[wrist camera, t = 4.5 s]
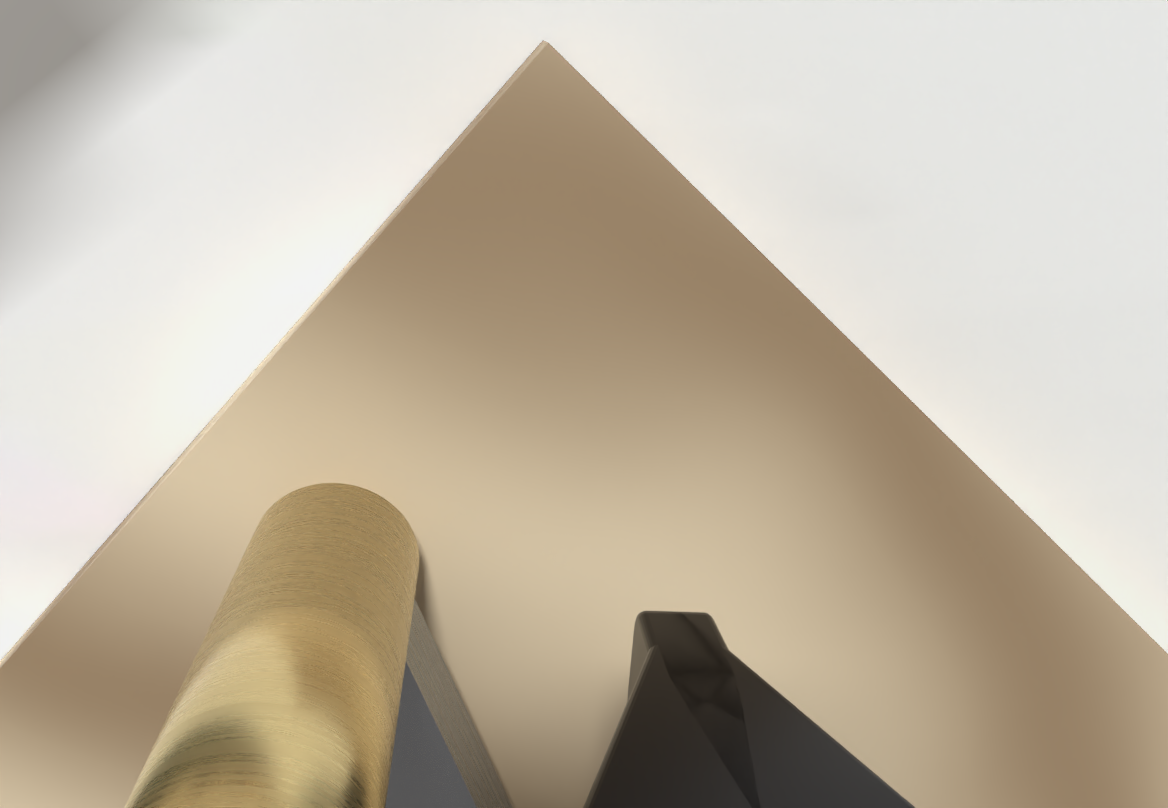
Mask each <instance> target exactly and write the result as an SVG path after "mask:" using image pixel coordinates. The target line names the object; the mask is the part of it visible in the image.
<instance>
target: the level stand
mask: <svg viewBox="0 0 1168 808" xmlns="http://www.w3.org/2000/svg"><path fill="white" fill-rule="evenodd" d="M321 483H343V484H349V485H354V486H358V487H361V488H364V489H367V490H370V491H372V492H374V493H376V494H378V495H380V496H381V497H383V498H385V499H386V500H388V501H389V502H390V503H391V504H393V505H394V506H395V507H396V508H397V509H398V510H399V511H400V512H401V513H402V514H403V516H404V517H405V518H406V520H407V521H408V522H409V524H410V526H411V528H412V530H413V532H414V534H415V537H416V540H417V544H418V548H419V570H418V577H417V584H416V591H415V600H416V602H417V604H418V606H419V609H420V611H421V613H422V615H423V617H424V619H425V621H426V624H427V626H428V628H429V630H430V632H431V634H432V636H433V639H434V641H435V643H436V645H437V647H438V649H439V651H440V653H441V656H442V658H443V660H444V662H445V664H446V666H447V668H448V671H449V673H450V675H451V677H452V679H453V681H454V683H455V685H456V688H457V690H458V692H459V694H460V696H461V698H462V700H463V703H464V705H465V707H466V709H467V711H468V713H469V715H470V718H471V720H472V722H473V724H474V726H475V728H476V730H477V732H478V735H479V737H480V739H481V741H482V743H483V745H484V747H485V750H486V752H487V754H488V756H489V758H490V760H491V762H492V764H493V767H494V769H495V771H496V773H497V775H498V777H499V779H500V782H501V784H502V786H503V788H504V790H505V792H506V794H507V797H508V799H509V801H510V803H511V805H512V807H513V808H583V807H584V804H585V802H586V800H587V797H588V795H589V792H590V790H591V788H592V785H593V783H594V780H595V778H596V776H597V773H598V771H599V768H600V766H601V764H602V761H603V759H604V756H605V754H606V752H607V749H608V747H609V744H610V742H611V740H612V737H613V735H614V732H615V730H616V728H617V725H618V723H619V720H620V718H621V716H622V713H623V711H624V708H625V706H626V704H627V700H628V686H629V676H630V665H631V655H632V644H633V634H634V626H635V620H636V617H637V615H638V614H639V613H640V612H642V611H678V612H705V613H708V614H709V615H711V616H712V618H713V619H714V621H715V623H716V625H717V627H718V629H719V631H720V633H721V635H722V637H723V639H724V641H725V643H726V645H727V647H728V649H729V651H731V652H732V653H733V654H734V655H735V656H736V657H738V658H739V659H740V660H741V661H742V662H744V663H745V664H746V665H747V666H748V667H750V668H751V669H752V670H753V671H754V672H755V673H757V674H758V675H759V676H760V677H761V678H763V679H764V680H765V681H766V682H767V683H768V684H770V685H771V686H772V687H773V688H774V689H776V690H777V691H778V692H779V693H780V694H782V695H783V696H784V697H785V698H786V699H787V700H789V701H790V702H791V703H792V704H793V705H795V706H796V707H797V708H798V709H799V710H800V711H802V712H803V713H804V714H805V715H806V716H808V717H809V718H810V719H811V720H812V721H814V722H815V723H816V724H817V725H818V726H819V727H821V728H822V729H823V730H824V731H825V732H827V733H828V734H829V735H830V736H831V737H832V738H834V739H835V740H836V741H837V742H838V743H840V744H841V745H842V746H843V747H844V748H846V749H847V750H848V751H849V752H850V753H851V754H853V755H854V756H855V757H856V758H857V759H859V760H860V761H861V762H862V763H863V764H864V765H866V766H867V767H868V768H869V769H870V770H872V771H873V772H874V773H875V774H876V775H878V776H879V777H880V778H881V779H882V780H883V781H885V782H886V783H887V784H888V785H889V786H891V787H892V788H893V789H894V790H895V791H896V792H898V793H899V794H900V795H901V796H902V797H904V798H905V799H906V800H907V801H908V802H910V803H911V804H912V805H913V806H914V807H915V808H1168V654H1167V653H1166V652H1165V651H1164V650H1163V649H1162V648H1161V647H1160V646H1159V645H1158V644H1157V643H1156V642H1155V641H1154V640H1153V639H1152V638H1151V637H1150V636H1149V635H1148V634H1147V633H1146V632H1145V631H1144V630H1143V629H1142V628H1141V627H1140V626H1139V625H1138V624H1137V623H1136V622H1135V621H1134V620H1133V619H1132V618H1131V617H1130V616H1129V615H1128V614H1127V613H1126V612H1125V611H1124V610H1123V609H1122V608H1121V607H1120V606H1119V605H1118V604H1117V603H1116V602H1115V601H1114V600H1113V599H1112V598H1111V597H1110V596H1109V595H1108V594H1107V593H1106V592H1104V591H1103V590H1102V589H1101V588H1100V587H1099V586H1098V585H1097V584H1096V583H1095V582H1094V581H1093V580H1092V579H1091V578H1090V577H1089V576H1088V575H1087V574H1086V573H1085V572H1084V571H1083V570H1082V569H1081V568H1080V567H1079V566H1078V565H1077V564H1076V563H1075V562H1074V561H1073V560H1072V559H1071V558H1070V557H1069V556H1068V555H1067V554H1066V553H1065V552H1064V551H1063V550H1062V549H1061V548H1060V547H1059V546H1058V545H1057V544H1056V543H1055V542H1054V541H1053V540H1052V539H1051V538H1050V537H1049V536H1048V535H1047V534H1046V533H1045V532H1044V531H1043V530H1042V529H1041V528H1040V527H1039V526H1038V525H1037V524H1036V523H1035V522H1034V521H1033V520H1032V519H1031V518H1029V517H1028V516H1027V515H1026V514H1025V513H1024V512H1023V511H1022V510H1021V509H1020V508H1019V507H1018V506H1017V505H1016V504H1015V503H1014V502H1013V501H1012V500H1011V499H1010V498H1009V497H1008V496H1007V495H1006V494H1005V493H1004V492H1003V491H1002V490H1001V489H1000V488H999V487H998V486H997V485H996V484H995V483H994V482H993V481H992V480H991V479H990V478H989V477H988V476H987V475H986V474H985V473H984V472H983V471H982V470H981V469H980V468H979V467H978V466H977V465H976V464H975V463H974V462H973V461H972V460H971V459H970V458H969V457H968V456H967V455H966V454H965V453H964V452H963V451H962V450H961V449H960V448H959V447H958V446H957V445H956V444H955V443H953V442H952V441H951V440H950V439H949V438H948V437H947V436H946V435H945V434H944V433H943V432H942V431H941V430H940V429H939V428H938V427H937V426H936V425H935V424H934V423H933V422H932V421H931V420H930V419H929V418H928V417H927V416H926V415H925V414H924V413H923V412H922V411H921V410H920V409H919V408H918V407H917V406H916V405H915V404H914V403H913V402H912V401H911V400H910V399H909V398H908V397H907V396H906V395H905V394H904V393H903V392H902V391H901V390H900V389H899V388H898V387H897V386H896V385H895V384H894V383H893V382H892V381H891V380H890V379H889V378H888V377H887V376H886V375H885V374H884V373H883V372H882V371H881V370H880V369H878V368H877V367H876V366H875V365H874V364H873V363H872V362H871V361H870V360H869V359H868V358H867V357H866V356H865V355H864V354H863V353H862V352H861V351H860V350H859V349H858V348H857V347H856V346H855V345H854V344H853V343H852V342H851V341H850V340H849V339H848V338H847V337H846V336H845V335H844V334H843V333H842V332H841V331H840V330H839V329H838V328H837V327H836V326H835V325H834V324H833V323H832V322H831V321H830V320H829V319H828V318H827V317H826V316H825V315H824V314H823V313H822V312H821V311H820V310H819V309H818V308H817V307H816V306H815V305H814V304H813V303H812V302H811V301H810V300H809V299H808V298H807V297H806V296H805V295H804V294H802V293H801V292H800V291H799V290H798V289H797V288H796V287H795V286H794V285H793V284H792V283H791V282H790V281H789V280H788V279H787V278H786V277H785V276H784V275H783V274H782V273H781V272H780V271H779V270H778V269H777V268H776V267H775V266H774V265H773V264H772V263H771V262H770V261H769V260H768V259H767V258H766V257H765V256H764V255H763V254H762V253H761V252H760V251H759V250H758V249H757V248H756V247H755V246H754V245H753V244H752V243H751V242H750V241H749V240H748V239H747V238H746V237H745V236H744V235H743V234H742V233H741V232H740V231H739V230H738V229H737V228H736V227H735V226H734V225H733V224H732V223H731V222H730V221H729V220H727V219H726V218H725V217H724V216H723V215H722V214H721V213H720V212H719V211H718V210H717V209H716V208H715V207H714V206H713V205H712V204H711V203H710V202H709V201H708V200H707V199H706V198H705V197H704V196H703V195H702V194H701V193H700V192H699V191H698V190H697V189H696V188H695V187H694V186H693V185H692V184H691V183H690V182H689V181H688V180H687V179H686V178H685V177H684V176H683V175H682V174H681V173H680V172H679V171H678V170H677V169H676V168H675V167H674V166H673V165H672V164H671V163H670V162H669V161H668V160H667V159H666V158H665V157H664V156H663V155H662V154H661V153H660V152H659V151H658V150H657V149H656V148H655V147H654V146H653V145H651V144H650V143H649V142H648V141H647V140H646V139H645V138H644V137H643V136H642V135H641V134H640V133H639V132H638V131H637V130H636V129H635V128H634V127H633V126H632V125H631V124H630V123H629V122H628V121H627V120H626V119H625V118H624V117H623V116H622V115H621V114H620V113H619V112H618V111H617V110H616V109H615V108H614V107H613V106H612V105H611V104H610V103H609V102H608V101H607V100H606V99H605V98H604V97H603V96H602V95H601V94H600V93H599V92H598V91H597V90H596V89H595V88H594V87H593V86H592V85H591V84H590V83H589V82H588V81H587V80H586V79H585V78H584V77H583V76H582V75H581V74H580V73H579V72H578V71H576V70H575V69H574V68H573V67H572V66H571V65H570V64H569V63H568V62H567V61H566V60H565V59H564V58H563V57H562V56H561V55H560V54H559V53H558V52H557V51H556V50H555V49H554V48H553V47H552V46H551V45H550V44H549V43H548V42H545V41H542V42H541V43H540V44H539V46H538V47H537V48H536V49H535V50H534V51H533V52H532V54H531V55H530V56H529V57H528V58H527V59H526V60H525V62H524V63H523V64H522V65H521V66H520V67H519V68H518V70H517V71H516V72H515V73H514V74H513V75H512V77H511V78H510V79H509V80H508V81H507V82H506V83H505V85H504V86H503V87H502V88H501V89H500V90H499V91H498V93H497V94H496V95H495V96H494V97H493V98H492V99H491V101H490V102H489V103H488V104H487V105H486V106H485V107H484V109H483V110H482V111H481V112H480V113H479V114H478V115H477V117H476V118H475V119H474V120H473V121H472V122H471V123H470V125H469V126H468V127H467V128H466V129H465V130H464V131H463V133H462V134H461V135H460V136H459V137H458V138H457V139H456V141H455V142H454V143H453V144H452V145H451V146H450V147H449V149H448V150H447V151H446V152H445V153H444V154H443V155H442V157H441V158H440V159H439V160H438V161H437V162H436V163H435V165H434V166H433V167H432V168H431V169H430V170H429V171H428V173H427V174H426V175H425V176H424V177H423V178H422V179H421V181H420V182H419V183H418V184H417V185H416V186H415V187H414V189H413V190H412V191H411V192H410V193H409V194H408V195H407V197H406V198H405V199H404V200H403V201H402V202H401V204H400V205H399V206H398V207H397V208H396V209H395V210H394V212H393V213H392V214H391V215H390V216H389V217H388V218H387V220H386V221H385V222H384V223H383V224H382V225H381V226H380V228H379V229H378V230H377V231H376V232H375V233H374V234H373V236H372V237H371V238H370V239H369V240H368V241H367V242H366V244H365V245H364V246H363V247H362V248H361V249H360V250H359V252H358V253H357V254H356V255H355V256H354V257H353V258H352V260H351V261H350V262H349V263H348V264H347V265H346V266H345V268H344V269H343V270H342V271H341V272H340V273H339V274H338V276H337V277H336V278H335V279H334V280H333V281H332V282H331V284H330V285H329V286H328V287H327V288H326V289H325V290H324V292H323V293H322V294H321V295H320V296H319V297H318V298H317V300H316V301H315V302H314V303H313V304H312V305H311V306H310V308H309V309H308V310H307V311H306V312H305V313H304V314H303V316H302V317H301V318H300V319H299V320H298V321H297V322H296V324H295V325H294V326H293V327H292V328H291V329H290V331H289V332H288V333H287V334H286V335H285V336H284V337H283V339H282V340H281V341H280V342H279V343H278V344H277V345H276V347H275V348H274V349H273V350H272V351H271V352H270V353H269V355H268V356H267V357H266V358H265V359H264V360H263V361H262V363H261V364H260V365H259V366H258V367H257V368H256V369H255V371H254V372H253V373H252V374H251V375H250V376H249V377H248V379H247V380H246V381H245V382H244V383H243V384H242V385H241V387H240V388H239V389H238V390H237V391H236V392H235V393H234V395H233V396H232V397H231V398H230V399H229V400H228V401H227V403H226V404H225V405H224V406H223V407H222V408H221V409H220V411H219V412H218V413H217V414H216V415H215V416H214V417H213V419H212V420H211V421H210V422H209V423H208V424H207V425H206V427H205V428H204V429H203V430H202V431H201V432H200V433H199V435H198V436H197V437H196V438H195V439H194V440H193V441H192V443H191V444H190V445H189V446H188V447H187V448H186V449H185V451H184V452H183V453H182V454H181V455H180V456H179V458H178V459H177V460H176V461H175V462H174V463H173V464H172V466H171V467H170V468H169V469H168V470H167V471H166V472H165V474H164V475H163V476H162V477H161V478H160V479H159V480H158V482H157V483H156V484H155V485H154V486H153V487H152V488H151V490H150V491H149V492H148V493H147V494H146V495H145V496H144V498H143V499H142V500H141V501H140V502H139V503H138V504H137V506H136V507H135V508H134V509H133V510H132V511H131V512H130V514H129V515H128V516H127V517H126V518H125V519H124V520H123V522H122V523H121V524H120V525H119V526H118V527H117V528H116V530H115V531H114V532H113V533H112V534H111V535H110V536H109V538H108V539H107V540H106V541H105V542H104V543H103V544H102V546H101V547H100V548H99V549H98V550H97V551H96V552H95V554H94V555H93V556H92V557H91V558H90V559H89V560H88V562H87V563H86V564H85V565H84V566H83V567H82V568H81V570H80V571H79V572H78V573H77V574H76V575H75V576H74V578H73V579H72V580H71V581H70V582H69V583H68V585H67V586H66V587H65V588H64V589H63V590H62V591H61V593H60V594H59V595H58V596H57V597H56V598H55V599H54V601H53V602H52V603H51V604H50V605H49V606H48V607H47V609H46V610H45V611H44V612H43V613H42V614H41V615H40V617H39V618H38V619H37V620H36V621H35V622H34V623H33V625H32V626H31V627H30V628H29V629H28V630H27V631H26V633H25V634H24V635H23V636H22V637H21V638H20V639H19V641H18V642H17V643H16V644H15V645H14V646H13V647H12V649H11V650H10V651H9V652H8V653H7V654H6V655H5V657H4V658H3V659H2V660H1V661H0V808H124V807H125V805H126V803H127V801H128V799H129V796H130V794H131V792H132V790H133V788H134V786H135V784H136V782H137V780H138V777H139V775H140V773H141V771H142V769H143V767H144V765H145V763H146V760H147V758H148V756H149V754H150V752H151V750H152V748H153V746H154V743H155V741H156V739H157V737H158V735H159V733H160V731H161V729H162V727H163V724H164V722H165V720H166V718H167V716H168V714H169V712H170V710H171V707H172V705H173V703H174V701H175V699H176V697H177V695H178V693H179V690H180V688H181V686H182V684H183V682H184V680H185V678H186V676H187V674H188V671H189V669H190V667H191V665H192V663H193V661H194V659H195V657H196V654H197V652H198V650H199V648H200V646H201V644H202V642H203V640H204V638H205V635H206V633H207V631H208V629H209V627H210V625H211V623H212V621H213V618H214V616H215V614H216V612H217V610H218V608H219V606H220V604H221V601H222V599H223V597H224V595H225V593H226V591H227V589H228V587H229V585H230V582H231V580H232V578H233V576H234V574H235V572H236V570H237V568H238V565H239V563H240V561H241V559H242V557H243V555H244V553H245V551H246V548H247V546H248V544H249V542H250V540H251V538H252V536H253V534H254V532H255V529H256V527H257V525H258V524H259V522H260V520H261V518H262V517H263V515H264V514H265V513H266V511H267V510H268V509H269V508H270V507H271V506H272V505H273V504H274V503H276V502H277V501H278V500H279V499H281V498H282V497H284V496H285V495H287V494H289V493H291V492H293V491H295V490H297V489H300V488H303V487H306V486H310V485H315V484H321Z"/></svg>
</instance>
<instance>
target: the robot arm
mask: <svg viewBox="0 0 1168 808" xmlns="http://www.w3.org/2000/svg"><path fill="white" fill-rule="evenodd" d="M583 808H915V807H914V806H913V805H912V804H911V803H910V802H908V801H907V800H906V799H905V798H904V797H902V796H901V795H900V794H899V793H898V792H896V791H895V790H894V789H893V788H892V787H891V786H889V785H888V784H887V783H886V782H885V781H883V780H882V779H881V778H880V777H879V776H878V775H876V774H875V773H874V772H873V771H872V770H870V769H869V768H868V767H867V766H866V765H864V764H863V763H862V762H861V761H860V760H859V759H857V758H856V757H855V756H854V755H853V754H851V753H850V752H849V751H848V750H847V749H846V748H844V747H843V746H842V745H841V744H840V743H838V742H837V741H836V740H835V739H834V738H832V737H831V736H830V735H829V734H828V733H827V732H825V731H824V730H823V729H822V728H821V727H819V726H818V725H817V724H816V723H815V722H814V721H812V720H811V719H810V718H809V717H808V716H806V715H805V714H804V713H803V712H802V711H800V710H799V709H798V708H797V707H796V706H795V705H793V704H792V703H791V702H790V701H789V700H787V699H786V698H785V697H784V696H783V695H782V694H780V693H779V692H778V691H777V690H776V689H774V688H773V687H772V686H771V685H770V684H768V683H767V682H766V681H765V680H764V679H763V678H761V677H760V676H759V675H758V674H757V673H755V672H754V671H753V670H752V669H751V668H750V667H748V666H747V665H746V664H745V663H744V662H742V661H741V660H740V659H739V658H738V657H736V656H735V655H734V654H733V653H732V652H731V651H729V649H728V647H727V645H726V643H725V641H724V639H723V637H722V635H721V633H720V631H719V629H718V627H717V625H716V623H715V621H714V619H713V618H712V616H711V615H709V614H708V613H705V612H678V611H642V612H640V613H639V614H638V615H637V617H636V620H635V626H634V634H633V644H632V655H631V665H630V676H629V686H628V700H627V704H626V706H625V708H624V711H623V713H622V716H621V718H620V720H619V723H618V725H617V728H616V730H615V732H614V735H613V737H612V740H611V742H610V744H609V747H608V749H607V752H606V754H605V756H604V759H603V761H602V764H601V766H600V768H599V771H598V773H597V776H596V778H595V780H594V783H593V785H592V788H591V790H590V792H589V795H588V797H587V800H586V802H585V804H584V807H583Z"/></svg>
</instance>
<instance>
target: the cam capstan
mask: <svg viewBox="0 0 1168 808" xmlns="http://www.w3.org/2000/svg"><path fill="white" fill-rule="evenodd" d="M418 570H419V548H418V544H417V540H416V537H415V534H414V532H413V530H412V528H411V526H410V524H409V522H408V521H407V520H406V518H405V517H404V516H403V514H402V513H401V512H400V511H399V510H398V509H397V508H396V507H395V506H394V505H393V504H391V503H390V502H389V501H388V500H386V499H385V498H383V497H381V496H380V495H378V494H376V493H374V492H372V491H370V490H367V489H364V488H361V487H358V486H354V485H349V484H343V483H321V484H315V485H310V486H306V487H303V488H300V489H297V490H295V491H293V492H291V493H289V494H287V495H285V496H284V497H282V498H281V499H279V500H278V501H277V502H276V503H274V504H273V505H272V506H271V507H270V508H269V509H268V510H267V511H266V513H265V514H264V515H263V517H262V518H261V520H260V522H259V524H258V525H257V527H256V529H255V532H254V534H253V536H252V538H251V540H250V542H249V544H248V546H247V548H246V551H245V553H244V555H243V557H242V559H241V561H240V563H239V565H238V568H237V570H236V572H235V574H234V576H233V578H232V580H231V582H230V585H229V587H228V589H227V591H226V593H225V595H224V597H223V599H222V601H221V604H220V606H219V608H218V610H217V612H216V614H215V616H214V618H213V621H212V623H211V625H210V627H209V629H208V631H207V633H206V635H205V638H204V640H203V642H202V644H201V646H200V648H199V650H198V652H197V654H196V657H195V659H194V661H193V663H192V665H191V667H190V669H189V671H188V674H187V676H186V678H185V680H184V682H183V684H182V686H181V688H180V690H179V693H178V695H177V697H176V699H175V701H174V703H173V705H172V707H171V710H170V712H169V714H168V716H167V718H166V720H165V722H164V724H163V727H162V729H161V731H160V733H159V735H158V737H157V739H156V741H155V743H154V746H153V748H152V750H151V752H150V754H149V756H148V758H147V760H146V763H145V765H144V767H143V769H142V771H141V773H140V775H139V777H138V780H137V782H136V784H135V786H134V788H133V790H132V792H131V794H130V796H129V799H128V801H127V803H126V805H125V807H124V808H513V807H512V805H511V803H510V801H509V799H508V797H507V794H506V792H505V790H504V788H503V786H502V784H501V782H500V779H499V777H498V775H497V773H496V771H495V769H494V767H493V764H492V762H491V760H490V758H489V756H488V754H487V752H486V750H485V747H484V745H483V743H482V741H481V739H480V737H479V735H478V732H477V730H476V728H475V726H474V724H473V722H472V720H471V718H470V715H469V713H468V711H467V709H466V707H465V705H464V703H463V700H462V698H461V696H460V694H459V692H458V690H457V688H456V685H455V683H454V681H453V679H452V677H451V675H450V673H449V671H448V668H447V666H446V664H445V662H444V660H443V658H442V656H441V653H440V651H439V649H438V647H437V645H436V643H435V641H434V639H433V636H432V634H431V632H430V630H429V628H428V626H427V624H426V621H425V619H424V617H423V615H422V613H421V611H420V609H419V606H418V604H417V602H416V600H415V591H416V584H417V577H418Z"/></svg>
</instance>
